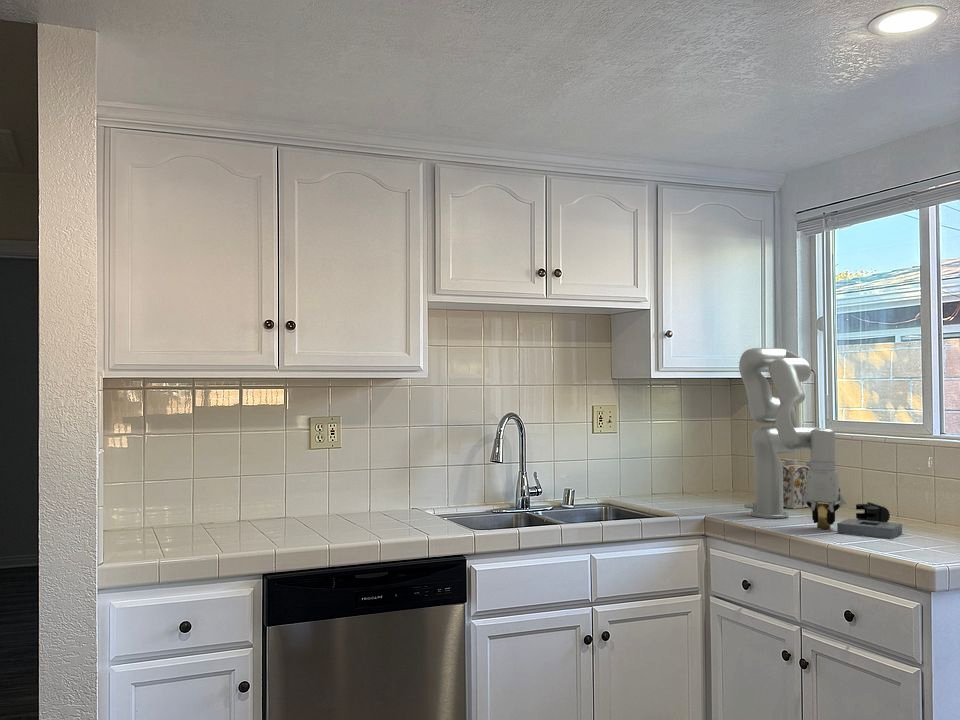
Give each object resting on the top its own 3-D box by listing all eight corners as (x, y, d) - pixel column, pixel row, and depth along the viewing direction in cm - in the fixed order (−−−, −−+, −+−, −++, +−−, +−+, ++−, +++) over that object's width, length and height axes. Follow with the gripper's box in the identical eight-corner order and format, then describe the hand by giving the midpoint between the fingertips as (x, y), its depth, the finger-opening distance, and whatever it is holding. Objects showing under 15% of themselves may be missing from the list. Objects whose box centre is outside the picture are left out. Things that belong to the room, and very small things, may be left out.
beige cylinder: (815, 528, 272) (815, 503, 272) (819, 526, 275) (819, 502, 276) (828, 529, 270) (827, 504, 270) (832, 528, 273) (831, 503, 273)
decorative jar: (769, 505, 324) (768, 458, 325) (790, 503, 330) (790, 457, 330) (793, 509, 314) (792, 461, 314) (815, 507, 319) (814, 460, 319)
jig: (837, 532, 264) (837, 523, 264) (848, 527, 273) (848, 518, 273) (892, 538, 254) (892, 528, 254) (902, 533, 263) (902, 523, 263)
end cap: (890, 527, 276) (890, 506, 276) (868, 526, 276) (868, 506, 276) (876, 522, 286) (876, 502, 286) (855, 521, 286) (855, 501, 286)
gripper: (793, 466, 275) (793, 522, 275) (846, 469, 265) (847, 527, 264) (800, 464, 281) (801, 519, 281) (853, 467, 271) (854, 524, 270)
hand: (823, 522), depth 273 cm, fingers closed on beige cylinder, 4 cm apart
